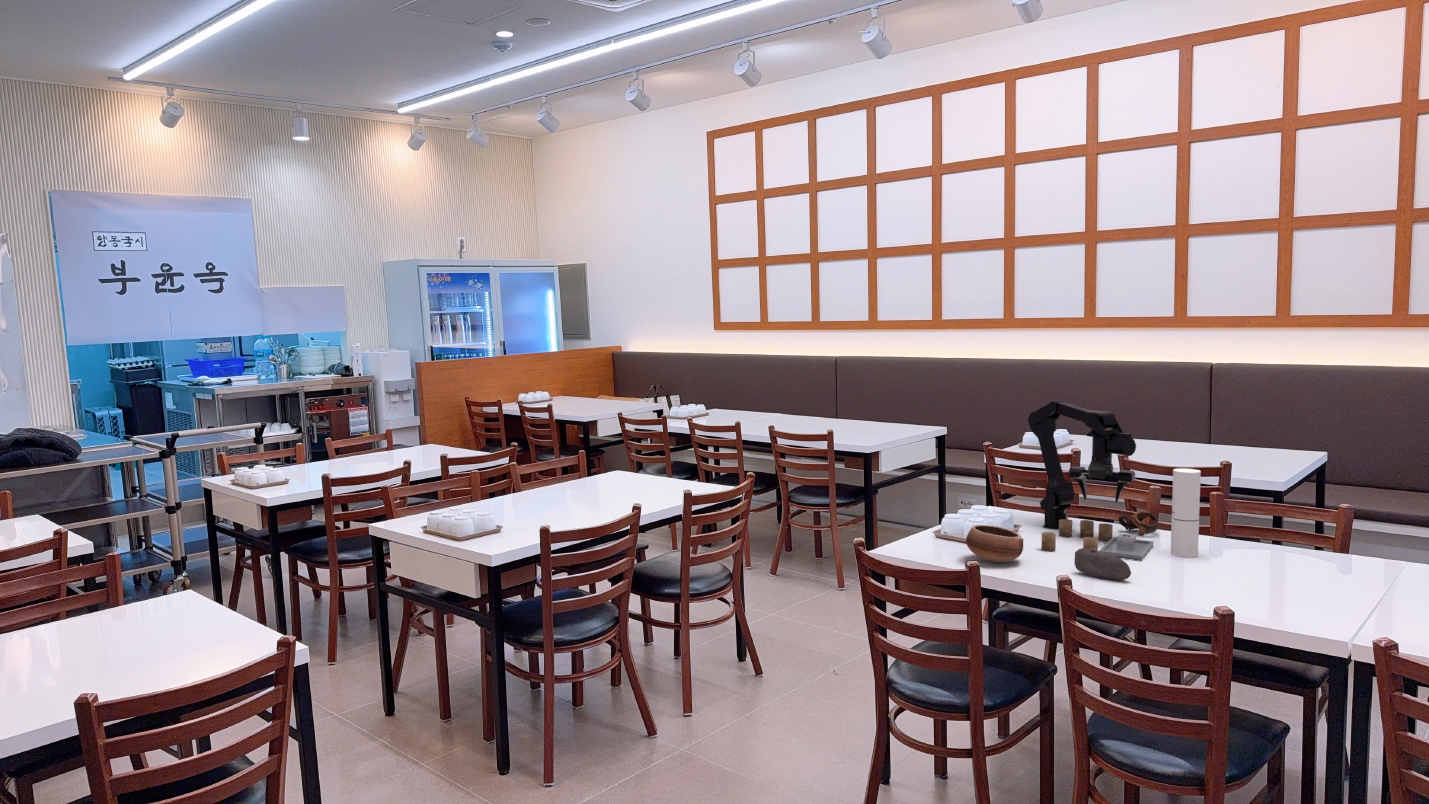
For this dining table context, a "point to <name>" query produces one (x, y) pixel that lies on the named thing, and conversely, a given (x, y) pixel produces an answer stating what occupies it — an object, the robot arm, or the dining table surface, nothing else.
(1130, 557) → the slate tray
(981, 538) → the bowl
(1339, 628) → the dining table surface
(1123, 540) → the steel nut
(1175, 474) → the cylindrical container
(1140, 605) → the dining table surface
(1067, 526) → the posts
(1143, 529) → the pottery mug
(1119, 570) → the perforated stone tool
